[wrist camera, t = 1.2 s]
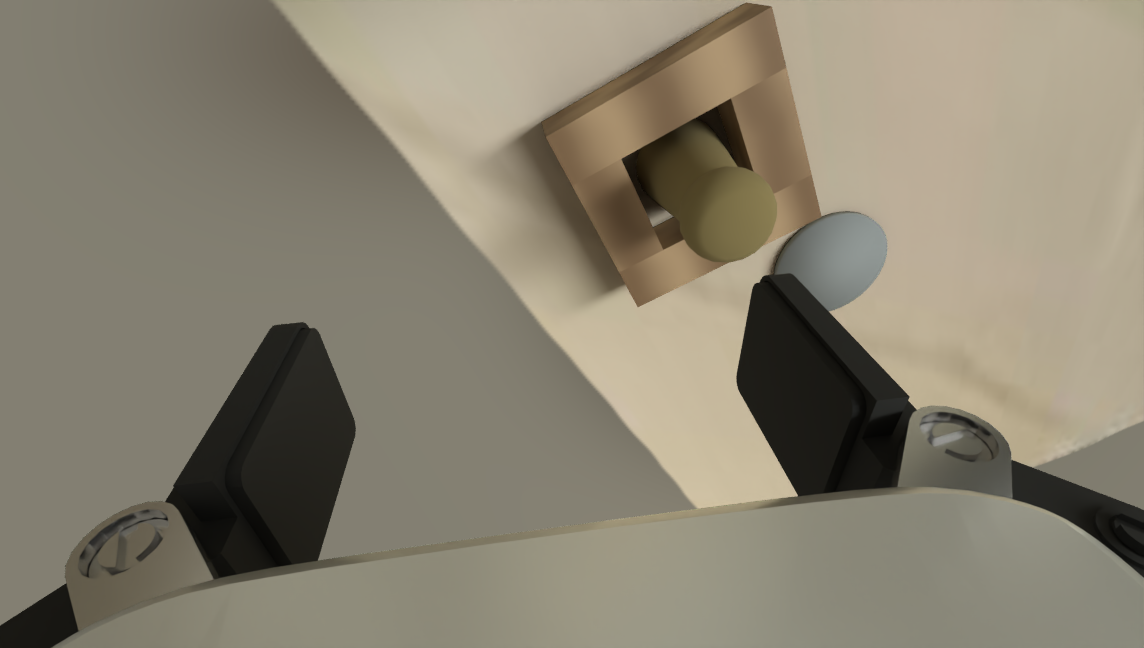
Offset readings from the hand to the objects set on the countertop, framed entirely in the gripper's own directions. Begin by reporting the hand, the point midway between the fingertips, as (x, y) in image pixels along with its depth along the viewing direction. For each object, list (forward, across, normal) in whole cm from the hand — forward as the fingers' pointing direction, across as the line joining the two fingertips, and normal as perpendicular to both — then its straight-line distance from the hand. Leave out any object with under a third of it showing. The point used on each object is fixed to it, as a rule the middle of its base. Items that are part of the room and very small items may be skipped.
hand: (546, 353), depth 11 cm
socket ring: (+26, -11, +5) cm, 28 cm away
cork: (+26, -11, +5) cm, 29 cm away
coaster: (+26, -24, +14) cm, 38 cm away
